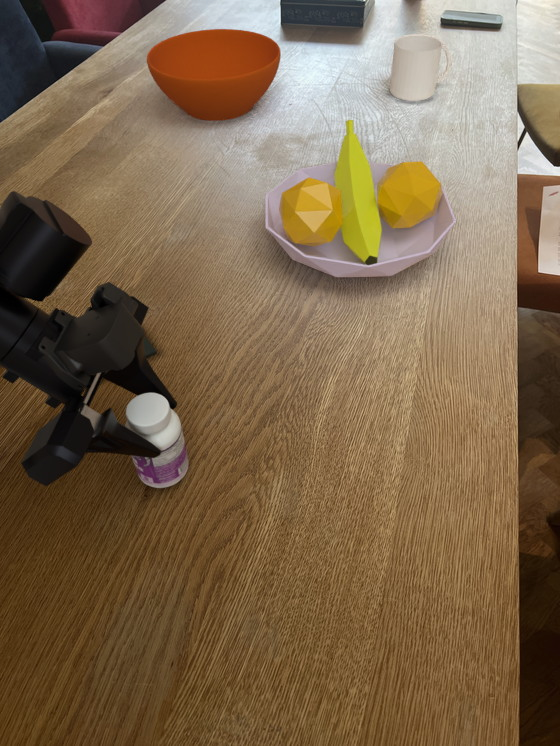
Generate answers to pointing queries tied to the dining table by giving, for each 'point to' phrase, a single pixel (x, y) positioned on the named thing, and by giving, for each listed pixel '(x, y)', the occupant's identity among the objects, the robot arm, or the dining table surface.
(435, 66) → the mug
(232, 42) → the bowl
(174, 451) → the pill bottle
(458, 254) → the dining table surface
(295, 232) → the fruit bowl
